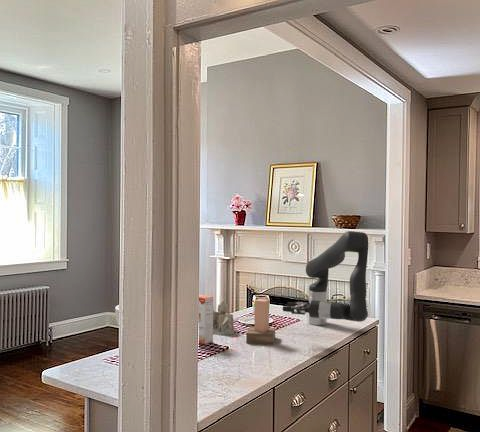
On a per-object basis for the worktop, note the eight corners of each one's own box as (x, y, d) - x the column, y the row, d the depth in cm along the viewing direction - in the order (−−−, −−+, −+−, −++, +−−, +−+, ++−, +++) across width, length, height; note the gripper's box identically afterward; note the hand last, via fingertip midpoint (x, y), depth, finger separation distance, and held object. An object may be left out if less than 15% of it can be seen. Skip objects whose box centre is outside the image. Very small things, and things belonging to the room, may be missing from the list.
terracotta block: (259, 328, 230) (259, 298, 229) (268, 329, 228) (269, 299, 227) (254, 330, 226) (254, 300, 225) (264, 332, 223) (264, 301, 223)
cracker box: (182, 339, 227) (182, 294, 226) (191, 336, 231) (191, 292, 231) (204, 345, 218) (204, 298, 217) (213, 342, 223) (213, 296, 222)
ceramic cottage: (201, 326, 250) (202, 297, 248) (233, 327, 251) (235, 298, 250) (201, 337, 234) (202, 306, 233) (235, 337, 236) (237, 307, 234)
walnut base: (249, 337, 233) (250, 326, 233) (275, 338, 232) (275, 327, 231) (246, 344, 222) (246, 333, 221) (272, 345, 220) (273, 334, 220)
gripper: (323, 298, 224) (288, 295, 229) (318, 304, 211) (281, 301, 216) (323, 314, 225) (288, 311, 230) (318, 321, 211) (281, 318, 216)
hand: (285, 306), depth 223 cm, fingers open, 8 cm apart
